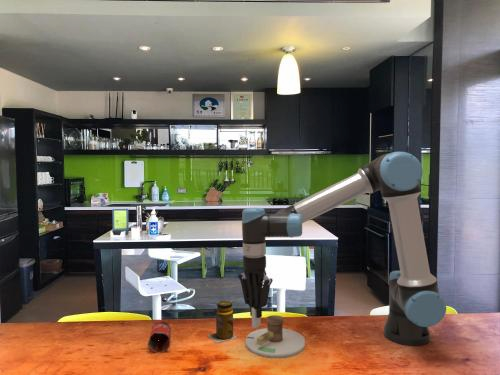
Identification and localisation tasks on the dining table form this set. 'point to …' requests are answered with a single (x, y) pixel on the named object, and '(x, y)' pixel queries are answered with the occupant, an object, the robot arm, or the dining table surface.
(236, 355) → the dining table surface
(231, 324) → the condiment
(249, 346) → the dial plate
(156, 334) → the beverage can
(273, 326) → the tuning knob
